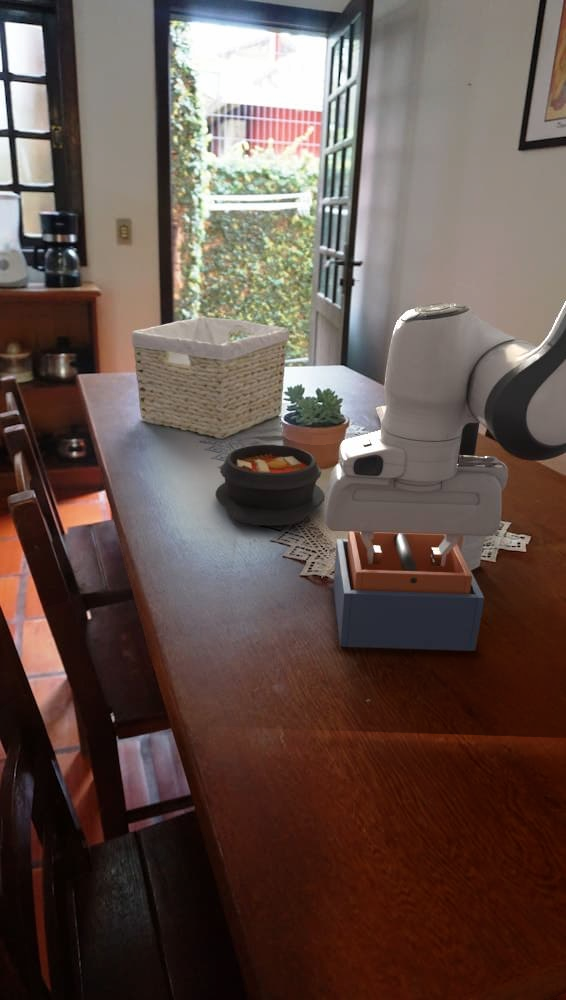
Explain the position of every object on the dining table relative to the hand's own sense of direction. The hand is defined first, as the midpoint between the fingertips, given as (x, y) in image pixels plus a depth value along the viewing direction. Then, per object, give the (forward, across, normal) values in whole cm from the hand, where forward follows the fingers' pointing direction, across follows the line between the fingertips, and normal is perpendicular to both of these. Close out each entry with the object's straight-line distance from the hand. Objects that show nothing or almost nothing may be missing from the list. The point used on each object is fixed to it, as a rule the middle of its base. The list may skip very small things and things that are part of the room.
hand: (405, 563), depth 82 cm
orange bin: (+7, 0, 0) cm, 7 cm away
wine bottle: (+8, -14, -38) cm, 41 cm away
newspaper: (+8, -14, -85) cm, 87 cm away
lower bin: (+8, 0, 0) cm, 8 cm away
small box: (+8, -9, -15) cm, 19 cm away
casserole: (+8, +17, -35) cm, 40 cm away
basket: (+8, +32, -84) cm, 90 cm away
